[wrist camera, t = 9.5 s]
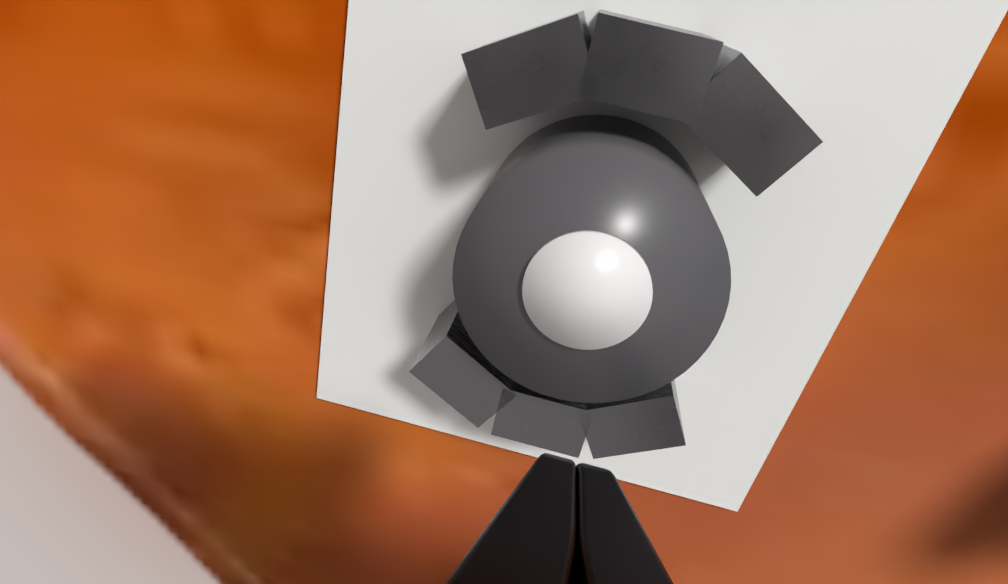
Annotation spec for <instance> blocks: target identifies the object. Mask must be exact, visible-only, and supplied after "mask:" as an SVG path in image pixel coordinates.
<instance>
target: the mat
mask: <svg viewBox="0 0 1008 584" xmlns="http://www.w3.org/2000/svg"><path fill="white" fill-rule="evenodd" d="M600 9H602V10H606V11H610V12H614V13H618V14H623V15H627V16H631V17H635V18H640V19H644V20H648V21H652V22H657V23H661V24H665V25H669V26H673V27H678V28H682V29H686V30H690V31H695V32H699V33H702V34H705V35H707V36H710V37H712V38H715V39H717V40H720V41H722V42H724V43H723V45H725V46H728V47H730V48H732V49H735V50H737V51H739V52H742V53H743V55H744V56H745V57H746V58H747V59H748V60H749V61H750V62H751V63H752V64H753V66H754V67H755V68H756V69H757V70H758V71H759V72H760V73H761V74H762V75H763V76H764V78H765V79H766V80H767V81H768V82H769V83H770V84H771V85H772V86H773V87H774V89H775V90H776V91H777V92H778V93H779V94H780V95H781V96H782V97H783V98H784V99H785V101H786V102H787V103H788V104H789V105H790V106H791V107H792V108H793V109H794V110H795V112H796V113H797V114H798V115H799V116H800V117H801V118H802V119H803V120H804V121H805V122H806V124H807V125H808V126H809V127H810V128H811V129H812V130H813V131H814V132H815V133H816V135H817V136H818V137H819V138H820V139H821V140H822V141H823V143H821V144H820V145H819V146H818V147H816V148H815V149H814V150H813V151H812V152H810V153H809V154H808V155H807V156H806V157H804V158H803V159H802V160H801V161H800V162H798V163H797V164H796V165H795V166H794V167H792V168H791V169H790V170H789V171H788V172H786V173H785V174H784V175H783V176H781V177H780V178H779V179H778V180H777V181H775V182H774V183H773V184H772V185H771V186H769V187H768V188H767V189H766V190H765V191H763V192H762V193H761V194H760V195H759V196H757V197H756V196H755V195H754V194H753V193H752V192H751V191H750V190H749V188H748V187H747V186H746V185H745V184H744V183H743V182H742V181H741V180H740V179H739V178H738V177H737V176H736V175H735V174H734V173H733V172H732V171H731V170H730V169H729V168H728V167H727V166H726V165H725V164H724V163H723V162H722V161H721V160H720V158H719V157H718V156H717V155H716V154H715V153H714V152H713V151H712V150H711V149H710V148H709V147H708V146H707V145H706V144H705V143H704V142H703V141H702V140H701V139H700V138H699V137H698V136H697V135H696V134H695V133H694V132H693V131H692V129H691V128H690V127H689V126H688V125H687V124H686V123H685V122H682V121H678V120H674V119H670V118H665V117H661V116H657V115H653V114H649V113H645V112H641V111H637V110H633V109H628V108H624V107H620V106H616V105H612V104H608V103H604V102H600V101H596V100H591V99H585V100H581V101H578V102H575V103H572V104H569V105H565V106H562V107H559V108H556V109H552V110H549V111H546V112H543V113H539V114H536V115H533V116H530V117H526V118H523V119H520V120H517V121H513V122H510V123H507V124H504V125H500V126H497V127H494V128H491V129H487V130H486V129H485V126H484V123H483V120H482V117H481V114H480V111H479V108H478V105H477V102H476V99H475V96H474V93H473V90H472V86H471V83H470V80H469V77H468V74H467V71H466V68H465V65H464V62H463V59H462V56H461V54H463V53H465V52H468V51H470V50H473V49H475V48H478V47H480V46H483V45H485V44H488V43H491V42H494V41H496V40H499V39H502V38H505V37H508V36H511V35H514V34H517V33H519V32H522V31H525V30H528V29H531V28H534V27H537V26H540V25H542V24H545V23H548V22H551V21H554V20H557V19H560V18H562V17H565V16H568V15H571V14H574V13H577V12H580V11H583V10H584V14H585V18H586V22H587V26H588V30H589V34H590V38H591V40H592V36H593V32H594V28H595V24H596V20H597V16H598V12H599V11H600ZM1007 10H1008V0H349V2H348V15H347V27H346V39H345V52H344V64H343V77H342V89H341V101H340V114H339V126H338V138H337V151H336V163H335V176H334V188H333V200H332V213H331V225H330V237H329V250H328V262H327V275H326V287H325V299H324V312H323V324H322V337H321V349H320V361H319V374H318V386H317V398H319V399H323V400H326V401H330V402H334V403H337V404H341V405H345V406H348V407H352V408H356V409H360V410H363V411H367V412H371V413H374V414H378V415H382V416H386V417H389V418H393V419H397V420H400V421H404V422H408V423H411V424H415V425H419V426H423V427H426V428H430V429H434V430H437V431H441V432H445V433H448V434H452V435H456V436H460V437H463V438H467V439H471V440H474V441H478V442H482V443H485V444H489V445H493V446H497V447H500V448H504V449H508V450H511V451H515V452H519V453H522V454H526V455H530V456H534V457H537V458H538V457H539V456H540V455H542V454H544V453H549V454H552V455H556V456H560V457H563V458H567V459H571V460H573V461H574V463H575V465H578V464H579V463H586V464H589V465H593V466H597V467H601V468H604V469H608V470H610V471H611V472H612V473H613V474H614V476H615V477H616V479H619V480H622V481H626V482H630V483H633V484H637V485H641V486H645V487H648V488H652V489H656V490H659V491H663V492H667V493H670V494H674V495H678V496H682V497H685V498H689V499H693V500H696V501H700V502H704V503H707V504H711V505H715V506H719V507H722V508H726V509H730V510H733V511H738V509H739V507H740V506H741V504H742V502H743V500H744V498H745V496H746V494H747V493H748V491H749V489H750V487H751V485H752V483H753V481H754V480H755V478H756V476H757V474H758V472H759V470H760V468H761V467H762V465H763V463H764V461H765V459H766V457H767V455H768V454H769V452H770V450H771V448H772V446H773V444H774V442H775V441H776V439H777V437H778V435H779V433H780V431H781V430H782V428H783V426H784V424H785V422H786V420H787V418H788V417H789V415H790V413H791V411H792V409H793V407H794V405H795V404H796V402H797V400H798V398H799V396H800V394H801V392H802V391H803V389H804V387H805V385H806V383H807V381H808V379H809V378H810V376H811V374H812V372H813V370H814V368H815V366H816V365H817V363H818V361H819V359H820V357H821V355H822V353H823V352H824V350H825V348H826V346H827V344H828V342H829V340H830V339H831V337H832V335H833V333H834V331H835V329H836V327H837V326H838V324H839V322H840V320H841V318H842V316H843V314H844V313H845V311H846V309H847V307H848V305H849V303H850V301H851V300H852V298H853V296H854V294H855V292H856V290H857V288H858V287H859V285H860V283H861V281H862V279H863V277H864V275H865V274H866V272H867V270H868V268H869V266H870V264H871V263H872V261H873V259H874V257H875V255H876V253H877V251H878V250H879V248H880V246H881V244H882V242H883V240H884V238H885V237H886V235H887V233H888V231H889V229H890V227H891V225H892V224H893V222H894V220H895V218H896V216H897V214H898V212H899V211H900V209H901V207H902V205H903V203H904V201H905V199H906V198H907V196H908V194H909V192H910V190H911V188H912V186H913V185H914V183H915V181H916V179H917V177H918V175H919V173H920V172H921V170H922V168H923V166H924V164H925V162H926V160H927V159H928V157H929V155H930V153H931V151H932V149H933V147H934V146H935V144H936V142H937V140H938V138H939V136H940V134H941V133H942V131H943V129H944V127H945V125H946V123H947V121H948V120H949V118H950V116H951V114H952V112H953V110H954V108H955V107H956V105H957V103H958V101H959V99H960V97H961V96H962V94H963V92H964V90H965V88H966V86H967V84H968V83H969V81H970V79H971V77H972V75H973V73H974V71H975V70H976V68H977V66H978V64H979V62H980V60H981V58H982V57H983V55H984V53H985V51H986V49H987V47H988V45H989V44H990V42H991V40H992V38H993V36H994V34H995V32H996V31H997V29H998V27H999V25H1000V23H1001V21H1002V19H1003V18H1004V16H1005V14H1006V12H1007ZM582 115H609V116H617V117H621V118H625V119H629V120H632V121H635V122H637V123H640V124H642V125H645V126H647V127H648V128H650V129H652V130H654V131H655V132H657V133H659V134H660V135H661V136H663V137H664V138H665V139H666V140H668V141H669V142H670V143H671V144H672V145H673V146H674V147H675V148H676V149H677V150H678V151H679V152H680V153H681V155H682V156H683V157H684V159H685V160H686V162H687V163H688V164H689V166H690V168H691V170H692V172H693V174H694V176H695V178H696V180H697V182H698V184H699V186H700V188H701V190H702V193H703V195H704V197H705V199H706V201H707V203H708V205H709V207H710V210H711V212H712V214H713V216H714V218H715V220H716V222H717V224H718V227H719V229H720V231H721V233H722V235H723V238H724V241H725V244H726V247H727V250H728V255H729V261H730V267H731V290H730V298H729V304H728V307H727V311H726V314H725V318H724V320H723V322H722V325H721V327H720V329H719V331H718V333H717V335H716V337H715V338H714V340H713V341H712V343H711V345H710V346H709V348H708V349H707V350H706V351H705V352H704V354H703V355H702V356H701V357H700V358H699V360H698V361H697V362H695V363H694V364H693V365H692V366H691V367H690V368H689V369H688V370H687V371H686V372H684V373H683V374H681V375H680V376H679V377H677V378H676V379H675V385H676V391H677V397H678V403H679V408H680V414H681V420H682V426H683V431H684V437H685V443H686V445H685V446H678V447H672V448H665V449H658V450H651V451H644V452H638V453H631V454H624V455H617V456H610V457H604V458H597V459H593V457H592V454H591V451H590V448H589V445H588V442H587V439H586V438H585V441H584V444H583V446H582V449H581V452H580V455H579V458H576V457H572V456H569V455H565V454H561V453H558V452H554V451H550V450H546V449H543V448H539V447H535V446H532V445H528V444H524V443H520V442H517V441H513V440H509V439H506V438H502V437H498V436H494V435H491V432H492V428H493V424H494V420H495V416H496V413H495V414H494V415H493V416H492V417H491V418H489V419H488V420H487V421H486V422H485V423H483V424H482V425H481V426H480V427H479V428H477V427H476V426H475V425H474V424H472V423H471V422H470V421H469V420H468V419H466V418H465V417H464V416H463V415H461V414H460V413H459V412H458V411H456V410H455V409H454V408H453V407H452V406H450V405H449V404H448V403H447V402H445V401H444V400H443V399H442V398H441V397H439V396H438V395H437V394H436V393H434V392H433V391H432V390H431V389H430V388H428V387H427V386H426V385H425V384H423V383H422V382H421V381H420V380H419V379H417V378H416V377H415V376H414V375H412V374H411V373H410V372H409V370H410V368H411V366H412V365H413V363H414V361H415V359H416V357H417V355H418V353H419V351H420V349H421V348H422V346H423V344H424V342H425V340H426V338H427V336H428V334H429V332H430V331H431V329H432V327H433V325H434V323H435V321H436V319H437V317H438V315H440V314H441V313H442V312H443V311H444V310H445V309H446V308H447V307H448V306H449V305H450V304H451V303H452V302H453V301H454V300H455V297H454V291H453V280H452V275H453V261H454V256H455V251H456V246H457V243H458V240H459V238H460V235H461V232H462V230H463V228H464V226H465V224H466V222H467V220H468V218H469V216H470V215H471V213H472V211H473V210H474V208H475V207H476V205H477V204H478V202H479V200H480V199H481V197H482V196H483V194H484V193H485V191H486V189H487V188H488V186H489V185H490V183H491V181H492V180H493V178H494V177H495V175H496V174H497V172H498V170H499V169H500V167H501V166H502V164H503V163H504V161H505V160H506V159H507V157H508V156H509V155H510V153H511V152H512V151H513V150H514V149H515V148H516V147H517V146H518V145H519V144H520V143H521V142H523V141H524V140H525V139H526V138H527V137H529V136H530V135H531V134H533V133H535V132H536V131H538V130H540V129H541V128H543V127H545V126H547V125H550V124H552V123H554V122H556V121H560V120H563V119H567V118H570V117H576V116H582Z"/></svg>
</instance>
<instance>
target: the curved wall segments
mask: <svg viewBox="0 0 1008 584" xmlns="http://www.w3.org/2000/svg"><path fill="white" fill-rule="evenodd" d="M723 43H724V42H722V41H720V40H717V39H715V38H712V37H710V36H707V35H705V34H702V33H699V32H695V31H690V30H686V29H682V28H678V27H673V26H669V25H665V24H661V23H657V22H652V21H648V20H644V19H640V18H635V17H631V16H627V15H623V14H618V13H614V12H610V11H606V10H602V9H600V11H599V12H598V16H597V20H596V24H595V28H594V32H593V36H592V40H591V38H590V34H589V30H588V26H587V22H586V18H585V14H584V10H583V11H580V12H577V13H574V14H571V15H568V16H565V17H562V18H560V19H557V20H554V21H551V22H548V23H545V24H542V25H540V26H537V27H534V28H531V29H528V30H525V31H522V32H519V33H517V34H514V35H511V36H508V37H505V38H502V39H499V40H496V41H494V42H491V43H488V44H485V45H483V46H480V47H478V48H475V49H473V50H470V51H468V52H465V53H463V54H461V56H462V59H463V62H464V65H465V68H466V71H467V74H468V77H469V80H470V83H471V86H472V90H473V93H474V96H475V99H476V102H477V105H478V108H479V111H480V114H481V117H482V120H483V123H484V126H485V129H486V130H487V129H491V128H494V127H497V126H500V125H504V124H507V123H510V122H513V121H517V120H520V119H523V118H526V117H530V116H533V115H536V114H539V113H543V112H546V111H549V110H552V109H556V108H559V107H562V106H565V105H569V104H572V103H575V102H578V101H581V100H585V99H591V100H596V101H600V102H604V103H608V104H612V105H616V106H620V107H624V108H628V109H633V110H637V111H641V112H645V113H649V114H653V115H657V116H661V117H665V118H670V119H674V120H678V121H682V122H685V123H686V124H687V125H688V126H689V127H690V128H691V129H692V131H693V132H694V133H695V134H696V135H697V136H698V137H699V138H700V139H701V140H702V141H703V142H704V143H705V144H706V145H707V146H708V147H709V148H710V149H711V150H712V151H713V152H714V153H715V154H716V155H717V156H718V157H719V158H720V160H721V161H722V162H723V163H724V164H725V165H726V166H727V167H728V168H729V169H730V170H731V171H732V172H733V173H734V174H735V175H736V176H737V177H738V178H739V179H740V180H741V181H742V182H743V183H744V184H745V185H746V186H747V187H748V188H749V190H750V191H751V192H752V193H753V194H754V195H755V196H756V197H757V196H759V195H760V194H761V193H762V192H763V191H765V190H766V189H767V188H768V187H769V186H771V185H772V184H773V183H774V182H775V181H777V180H778V179H779V178H780V177H781V176H783V175H784V174H785V173H786V172H788V171H789V170H790V169H791V168H792V167H794V166H795V165H796V164H797V163H798V162H800V161H801V160H802V159H803V158H804V157H806V156H807V155H808V154H809V153H810V152H812V151H813V150H814V149H815V148H816V147H818V146H819V145H820V144H821V143H823V141H822V140H821V139H820V138H819V137H818V136H817V135H816V133H815V132H814V131H813V130H812V129H811V128H810V127H809V126H808V125H807V124H806V122H805V121H804V120H803V119H802V118H801V117H800V116H799V115H798V114H797V113H796V112H795V110H794V109H793V108H792V107H791V106H790V105H789V104H788V103H787V102H786V101H785V99H784V98H783V97H782V96H781V95H780V94H779V93H778V92H777V91H776V90H775V89H774V87H773V86H772V85H771V84H770V83H769V82H768V81H767V80H766V79H765V78H764V76H763V75H762V74H761V73H760V72H759V71H758V70H757V69H756V68H755V67H754V66H753V64H752V63H751V62H750V61H749V60H748V59H747V58H746V57H745V56H744V55H743V53H742V52H739V51H737V50H735V49H732V48H730V47H728V46H725V45H723ZM409 372H410V373H411V374H412V375H414V376H415V377H416V378H417V379H419V380H420V381H421V382H422V383H423V384H425V385H426V386H427V387H428V388H430V389H431V390H432V391H433V392H434V393H436V394H437V395H438V396H439V397H441V398H442V399H443V400H444V401H445V402H447V403H448V404H449V405H450V406H452V407H453V408H454V409H455V410H456V411H458V412H459V413H460V414H461V415H463V416H464V417H465V418H466V419H468V420H469V421H470V422H471V423H472V424H474V425H475V426H476V427H477V428H479V427H480V426H481V425H482V424H483V423H485V422H486V421H487V420H488V419H489V418H491V417H492V416H493V415H494V414H495V413H496V416H495V420H494V424H493V428H492V432H491V435H494V436H498V437H502V438H506V439H509V440H513V441H517V442H520V443H524V444H528V445H532V446H535V447H539V448H543V449H546V450H550V451H554V452H558V453H561V454H565V455H569V456H572V457H576V458H579V455H580V452H581V449H582V446H583V444H584V441H585V438H586V439H587V442H588V445H589V448H590V451H591V454H592V457H593V459H597V458H604V457H610V456H617V455H624V454H631V453H638V452H644V451H651V450H658V449H665V448H672V447H678V446H685V445H686V443H685V437H684V431H683V426H682V420H681V414H680V408H679V403H678V397H677V391H676V385H675V379H674V380H673V381H671V382H670V383H668V384H666V385H664V386H662V387H660V388H659V389H656V390H654V391H651V392H649V393H646V394H644V395H641V396H637V397H634V398H630V399H627V400H621V401H615V402H605V403H582V402H572V401H566V400H560V399H556V398H553V397H549V396H546V395H543V394H540V393H538V392H535V391H533V390H530V389H528V388H526V387H524V386H522V385H520V384H519V383H517V382H515V381H513V380H512V379H510V378H509V377H508V376H506V375H505V374H503V373H502V372H501V371H499V370H498V369H497V368H496V367H495V366H494V365H492V364H491V363H490V362H489V361H488V360H487V359H486V357H485V356H484V355H483V354H482V353H481V352H480V351H479V350H478V348H477V347H476V345H475V344H474V343H473V341H472V340H471V338H470V337H469V335H468V333H467V331H466V329H465V327H464V325H463V323H462V321H461V318H460V315H459V313H458V310H457V306H456V302H455V300H454V301H453V302H452V303H451V304H450V305H449V306H448V307H447V308H446V309H445V310H444V311H443V312H442V313H441V314H440V315H438V317H437V319H436V321H435V323H434V325H433V327H432V329H431V331H430V332H429V334H428V336H427V338H426V340H425V342H424V344H423V346H422V348H421V349H420V351H419V353H418V355H417V357H416V359H415V361H414V363H413V365H412V366H411V368H410V370H409Z"/></svg>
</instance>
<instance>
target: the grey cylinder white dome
mask: <svg viewBox="0 0 1008 584" xmlns="http://www.w3.org/2000/svg"><path fill="white" fill-rule="evenodd" d="M452 280H453V291H454V297H455V302H456V306H457V310H458V313H459V315H460V318H461V321H462V323H463V325H464V327H465V329H466V331H467V333H468V335H469V337H470V338H471V340H472V341H473V343H474V344H475V345H476V347H477V348H478V350H479V351H480V352H481V353H482V354H483V355H484V356H485V357H486V359H487V360H488V361H489V362H490V363H491V364H492V365H494V366H495V367H496V368H497V369H498V370H499V371H501V372H502V373H503V374H505V375H506V376H508V377H509V378H510V379H512V380H513V381H515V382H517V383H519V384H520V385H522V386H524V387H526V388H528V389H530V390H533V391H535V392H538V393H540V394H543V395H546V396H549V397H553V398H556V399H560V400H566V401H572V402H582V403H605V402H615V401H621V400H627V399H630V398H634V397H637V396H641V395H644V394H646V393H649V392H651V391H654V390H656V389H659V388H660V387H662V386H664V385H666V384H668V383H670V382H671V381H673V380H674V379H676V378H677V377H679V376H680V375H681V374H683V373H684V372H686V371H687V370H688V369H689V368H690V367H691V366H692V365H693V364H694V363H695V362H697V361H698V360H699V358H700V357H701V356H702V355H703V354H704V352H705V351H706V350H707V349H708V348H709V346H710V345H711V343H712V341H713V340H714V338H715V337H716V335H717V333H718V331H719V329H720V327H721V325H722V322H723V320H724V318H725V314H726V311H727V307H728V304H729V298H730V290H731V267H730V261H729V255H728V250H727V247H726V244H725V241H724V238H723V235H722V233H721V231H720V229H719V227H718V224H717V222H716V220H715V218H714V216H713V214H712V212H711V210H710V207H709V205H708V203H707V201H706V199H705V197H704V195H703V193H702V190H701V188H700V186H699V184H698V182H697V180H696V178H695V176H694V174H693V172H692V170H691V168H690V166H689V164H688V163H687V162H686V160H685V159H684V157H683V156H682V155H681V153H680V152H679V151H678V150H677V149H676V148H675V147H674V146H673V145H672V144H671V143H670V142H669V141H668V140H666V139H665V138H664V137H663V136H661V135H660V134H659V133H657V132H655V131H654V130H652V129H650V128H648V127H647V126H645V125H642V124H640V123H637V122H635V121H632V120H629V119H625V118H621V117H617V116H609V115H582V116H576V117H570V118H567V119H563V120H560V121H556V122H554V123H552V124H550V125H547V126H545V127H543V128H541V129H540V130H538V131H536V132H535V133H533V134H531V135H530V136H529V137H527V138H526V139H525V140H524V141H523V142H521V143H520V144H519V145H518V146H517V147H516V148H515V149H514V150H513V151H512V152H511V153H510V155H509V156H508V157H507V159H506V160H505V161H504V163H503V164H502V166H501V167H500V169H499V170H498V172H497V174H496V175H495V177H494V178H493V180H492V181H491V183H490V185H489V186H488V188H487V189H486V191H485V193H484V194H483V196H482V197H481V199H480V200H479V202H478V204H477V205H476V207H475V208H474V210H473V211H472V213H471V215H470V216H469V218H468V220H467V222H466V224H465V226H464V228H463V230H462V232H461V235H460V238H459V240H458V243H457V246H456V251H455V256H454V261H453V275H452Z"/></svg>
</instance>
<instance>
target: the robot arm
mask: <svg viewBox="0 0 1008 584" xmlns="http://www.w3.org/2000/svg"><path fill="white" fill-rule="evenodd" d="M444 584H673V582H672V580H671V578H670V577H669V575H668V573H667V571H666V569H665V567H664V566H663V564H662V562H661V560H660V558H659V556H658V554H657V553H656V551H655V549H654V547H653V545H652V543H651V542H650V540H649V538H648V536H647V534H646V532H645V531H644V529H643V527H642V525H641V523H640V521H639V520H638V518H637V516H636V514H635V512H634V510H633V509H632V507H631V505H630V503H629V501H628V499H627V498H626V496H625V494H624V492H623V490H622V488H621V486H620V485H619V483H618V481H617V479H616V477H615V476H614V474H613V473H612V472H611V471H610V470H608V469H604V468H601V467H597V466H593V465H589V464H586V463H579V464H578V465H575V463H574V461H573V460H571V459H567V458H563V457H560V456H556V455H552V454H549V453H544V454H542V455H540V456H539V457H538V459H537V460H536V461H535V463H534V464H533V465H532V467H531V468H530V469H529V471H528V472H527V473H526V475H525V476H524V477H523V479H522V480H521V481H520V483H519V484H518V486H517V487H516V488H515V490H514V491H513V492H512V494H511V495H510V496H509V498H508V499H507V500H506V502H505V503H504V504H503V506H502V507H501V508H500V510H499V511H498V512H497V514H496V515H495V516H494V518H493V519H492V520H491V522H490V523H489V524H488V526H487V527H486V528H485V530H484V531H483V532H482V534H481V535H480V536H479V538H478V539H477V540H476V542H475V543H474V544H473V546H472V547H471V549H470V550H469V551H468V553H467V554H466V555H465V557H464V558H463V559H462V561H461V562H460V563H459V565H458V566H457V567H456V569H455V570H454V571H453V573H452V574H451V575H450V577H449V578H448V579H447V581H446V582H445V583H444Z"/></svg>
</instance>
